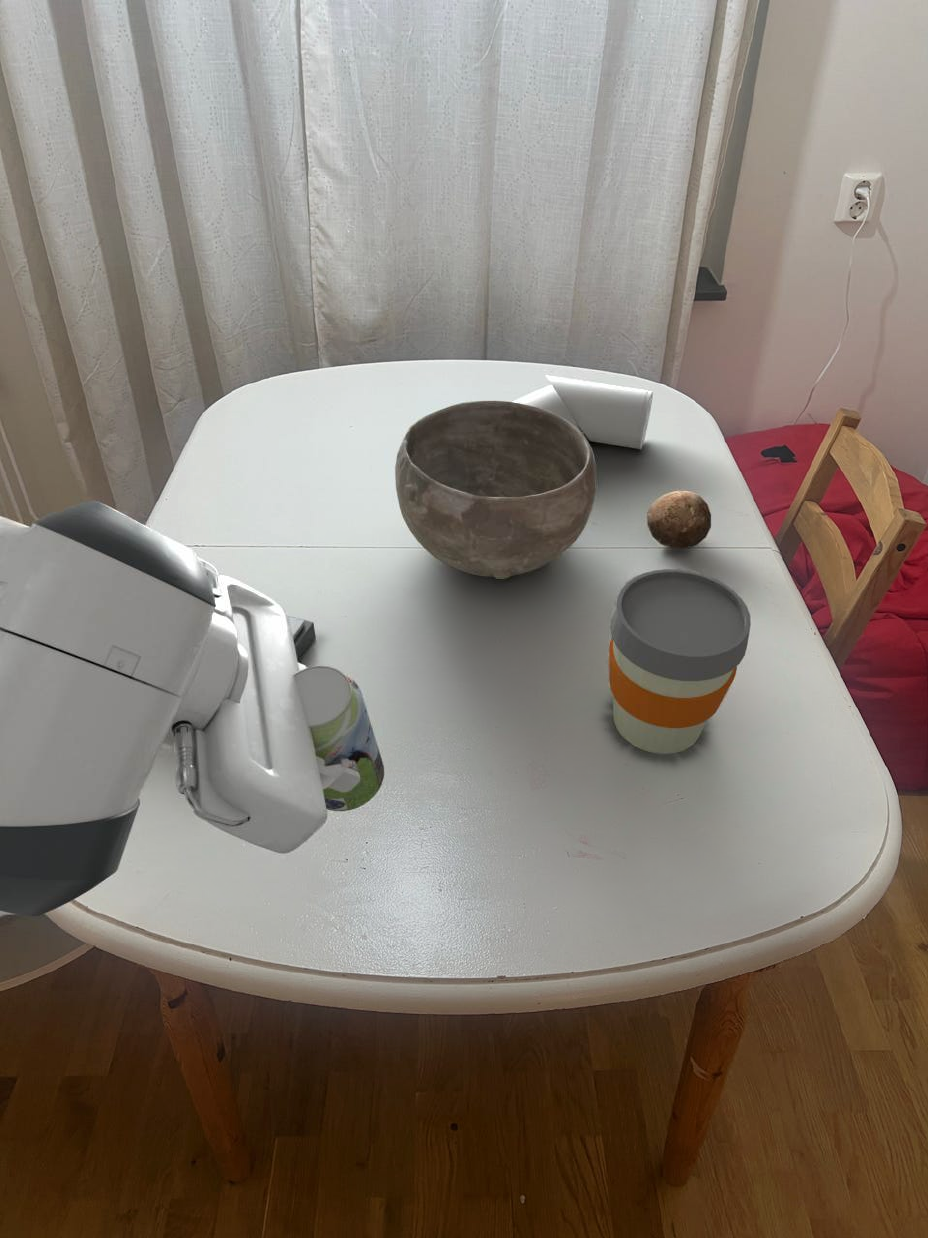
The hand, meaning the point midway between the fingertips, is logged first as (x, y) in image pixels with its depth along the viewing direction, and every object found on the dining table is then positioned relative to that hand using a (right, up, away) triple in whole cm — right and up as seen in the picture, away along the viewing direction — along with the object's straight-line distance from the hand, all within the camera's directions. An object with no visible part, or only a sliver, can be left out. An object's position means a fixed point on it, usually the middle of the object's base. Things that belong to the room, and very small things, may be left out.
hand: (344, 741), depth 61 cm
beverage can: (-1, -5, +5) cm, 7 cm away
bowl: (+12, +18, +48) cm, 53 cm away
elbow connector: (+26, +35, +67) cm, 80 cm away
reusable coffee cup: (+28, -2, +27) cm, 39 cm away
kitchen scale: (-18, +4, +32) cm, 37 cm away
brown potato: (+36, +19, +50) cm, 65 cm away
